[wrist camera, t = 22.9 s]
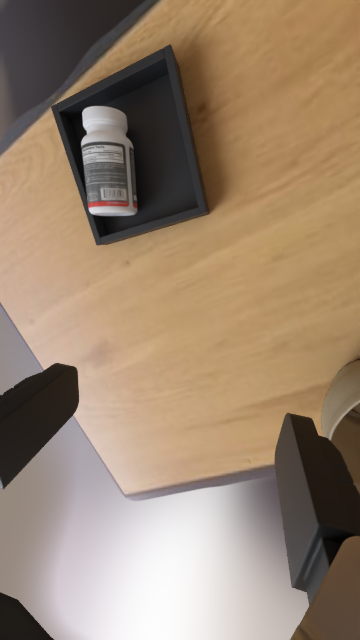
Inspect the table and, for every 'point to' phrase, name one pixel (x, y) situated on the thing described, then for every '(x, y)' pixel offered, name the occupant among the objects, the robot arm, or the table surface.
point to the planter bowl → (344, 417)
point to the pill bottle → (108, 163)
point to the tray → (142, 146)
